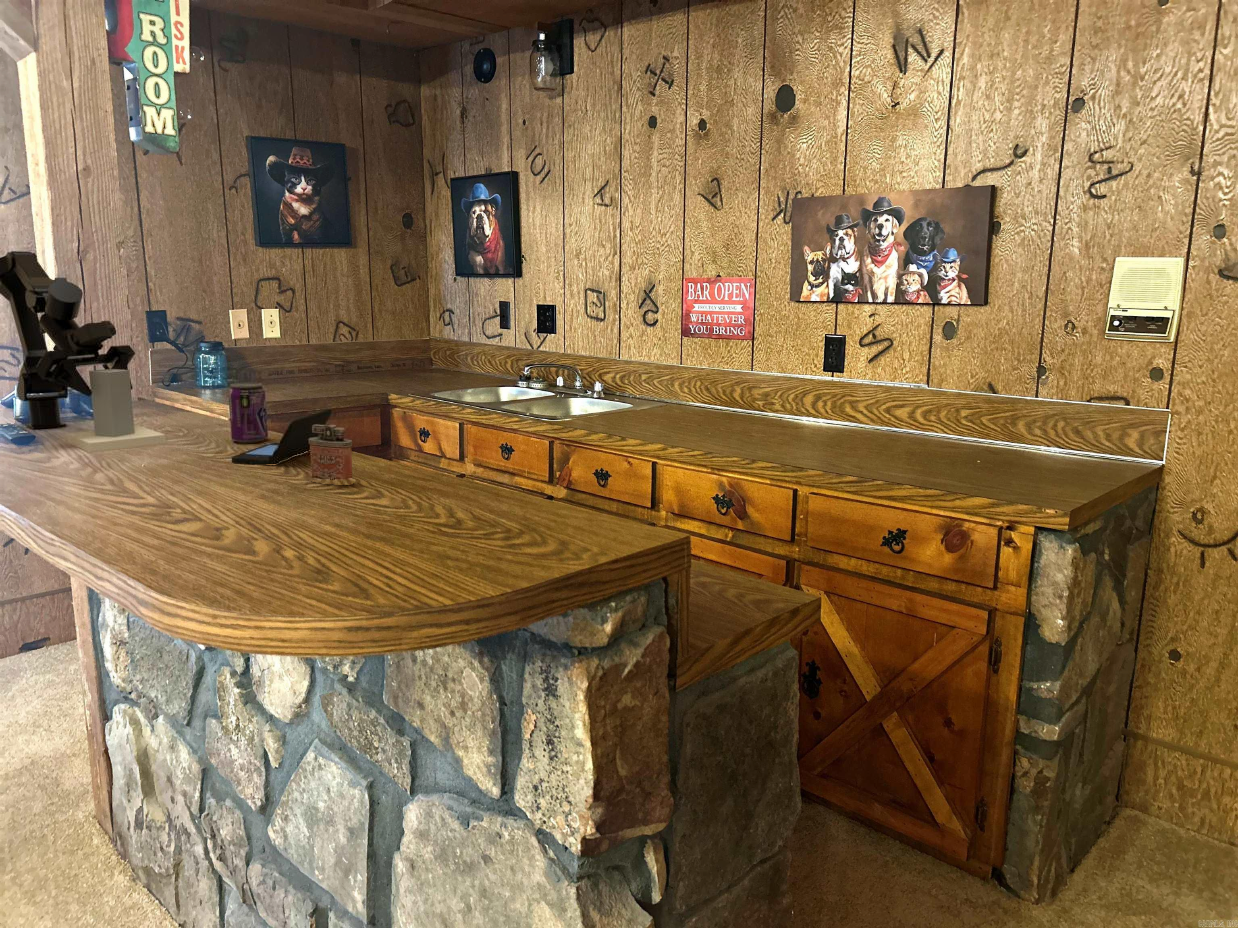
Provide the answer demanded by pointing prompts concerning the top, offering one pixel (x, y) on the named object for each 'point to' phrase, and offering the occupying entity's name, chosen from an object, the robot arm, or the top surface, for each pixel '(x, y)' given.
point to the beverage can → (248, 412)
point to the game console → (286, 441)
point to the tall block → (112, 402)
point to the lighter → (330, 453)
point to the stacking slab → (115, 440)
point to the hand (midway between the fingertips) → (111, 392)
